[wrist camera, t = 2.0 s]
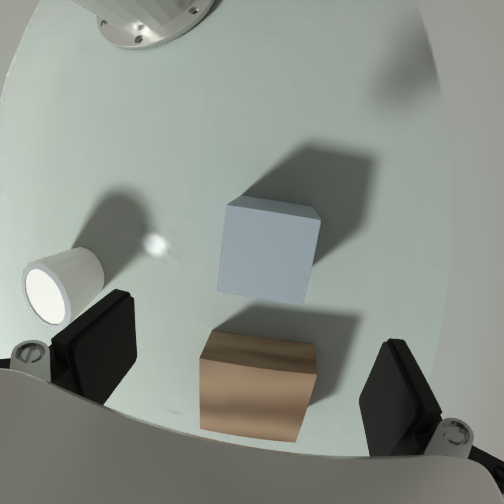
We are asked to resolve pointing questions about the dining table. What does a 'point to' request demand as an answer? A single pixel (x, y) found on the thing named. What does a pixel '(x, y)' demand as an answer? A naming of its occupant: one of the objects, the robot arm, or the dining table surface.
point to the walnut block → (255, 386)
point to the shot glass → (62, 286)
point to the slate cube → (268, 249)
